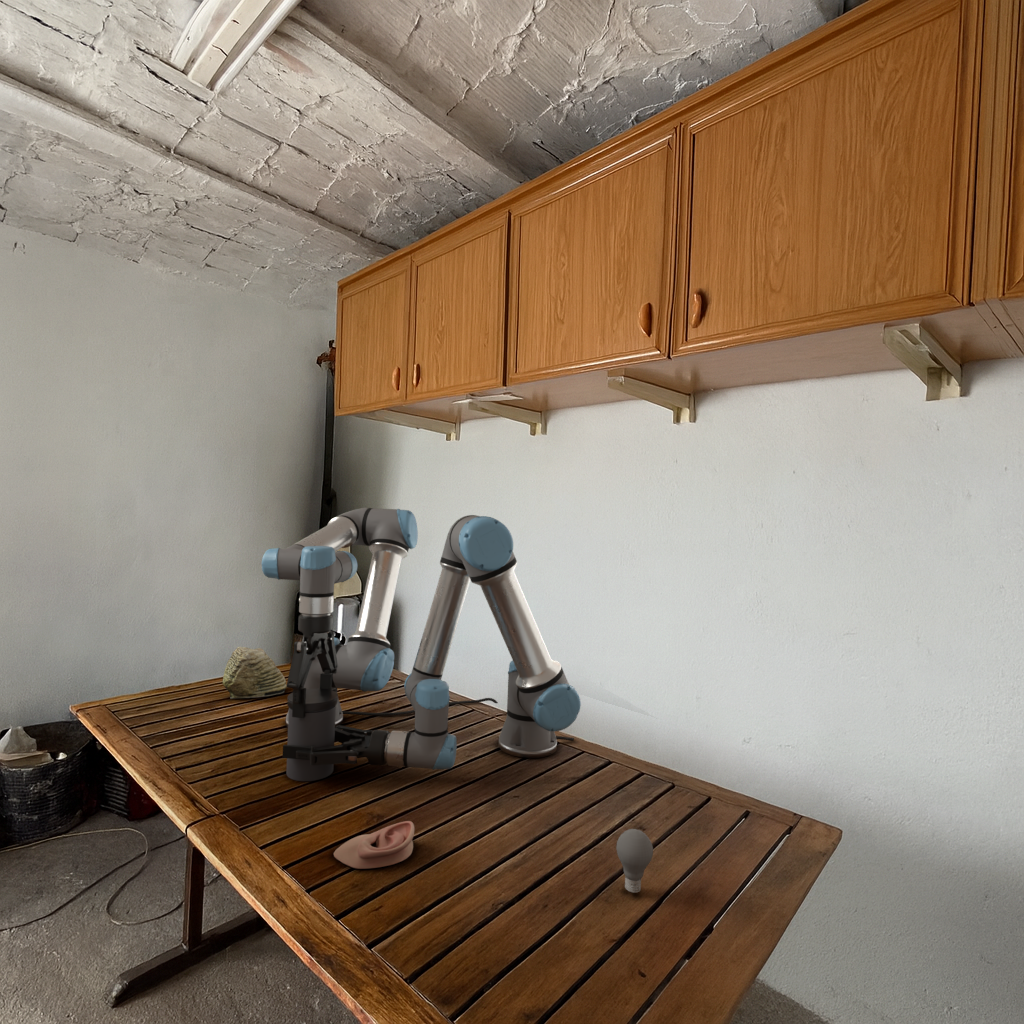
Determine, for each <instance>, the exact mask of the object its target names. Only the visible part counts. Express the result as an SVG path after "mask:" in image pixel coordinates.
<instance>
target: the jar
mask: <svg viewBox="0 0 1024 1024" xmlns="http://www.w3.org/2000/svg"><path fill="white" fill-rule="evenodd" d="M288 710H289V716H288V727H287V743H286V745H298V746H313V745H314V749H315V748H322V747H329V746H335V742H336V741H335V728H336V727H335V715H336V705H335V706H333V707H331V708H328V709H324V710H318V711H305V718H296V717H292V709H291V708H289V707H288ZM310 761H311V760H305V759H290V758H286V771H285V773H286V776H287V777H288V778H289V779H290V780H293V781H295V782H296V781H297V782H314V781H318V780H322V779H325V778H327V777H329V776H331V774H333V772H334V766H335V764H327V765H310Z"/></svg>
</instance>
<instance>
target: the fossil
mask: <svg viewBox="0 0 1024 1024" xmlns="http://www.w3.org/2000/svg"><path fill="white" fill-rule="evenodd" d="M222 676H223V677H222V685H223V687H224V688H225V690H226V691H228V693H229V698H230V699H250V698H264V697H271V696H275V695H281V694H284V693H285V691H286V689H287V680H286V678H285V676H284V674H283V673H282V672H281V669H279V668H278V667H277V665H276V663H275V662H274V660H273V659H272V658H271V657H270V656H269V655H268V654H267V653H266V652H265V650H264V649H263V648H260V647H258V648H251V647H247V646H246V647H245V646H238V647H237V648H236V649H235V650H233V651H232V653H231V656H230V657H229V659H228V660H227V663H226V666H225V668H224V671H223V675H222Z"/></svg>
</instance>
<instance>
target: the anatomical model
mask: <svg viewBox="0 0 1024 1024" xmlns="http://www.w3.org/2000/svg"><path fill="white" fill-rule="evenodd" d="M414 836H415V824H414V823H413V822H412V821H411V820H405V821H400V822H397V823H393V824H391V825H388V826H386V827H383V828H381V829H379V830H376V831H373V832H371V833H368V834H367V833H366V834H361V835H357V836H355V837H353V838H351V839H349V840H347V841H345V842H344V843H342V844H341V845H340V846H338V847H337V848H336V849H335V851H334V852H333V857H334V858H335V859H336V860H337V861H339V862H341V863H342V864H344V865H346V866H348V867H350V868H353V869H357V870H367V869H376V868H377V869H378V868H382V867H387V866H388V867H389V866H393V865H395V864H398V863H400V862H403V861H405V860H407V859H408V858H409V857H410V856H411V855H412V853H413V850H414V841H413V839H414Z"/></svg>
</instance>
